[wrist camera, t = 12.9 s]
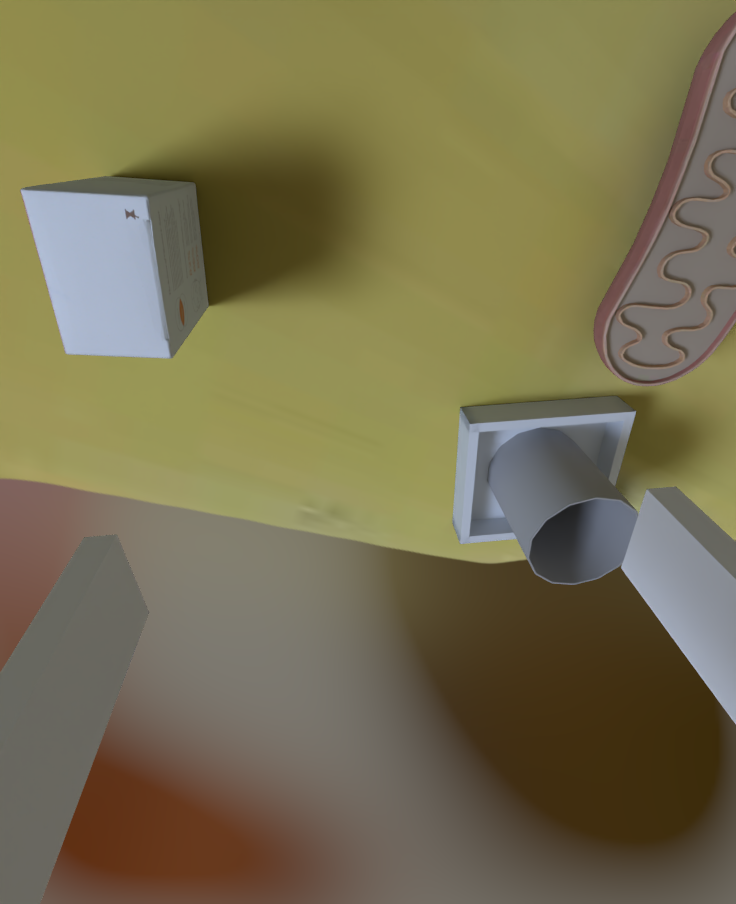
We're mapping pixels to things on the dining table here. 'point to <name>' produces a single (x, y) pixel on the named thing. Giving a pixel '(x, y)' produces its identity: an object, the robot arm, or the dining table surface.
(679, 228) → the mitochondrion model
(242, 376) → the dining table surface
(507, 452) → the cup
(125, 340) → the small box
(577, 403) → the grey tray
